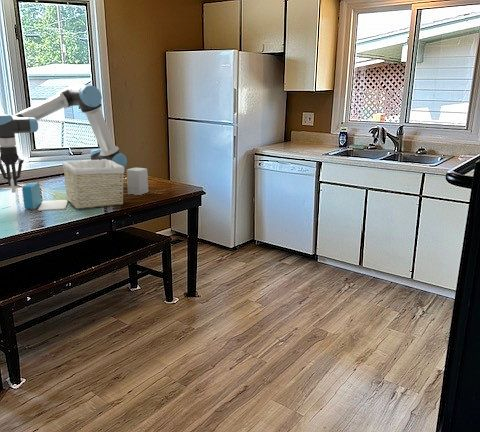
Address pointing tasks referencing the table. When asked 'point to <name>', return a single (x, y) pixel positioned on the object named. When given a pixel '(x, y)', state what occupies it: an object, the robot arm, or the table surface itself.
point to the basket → (93, 183)
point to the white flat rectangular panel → (53, 205)
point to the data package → (31, 195)
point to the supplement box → (137, 181)
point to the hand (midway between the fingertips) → (14, 191)
